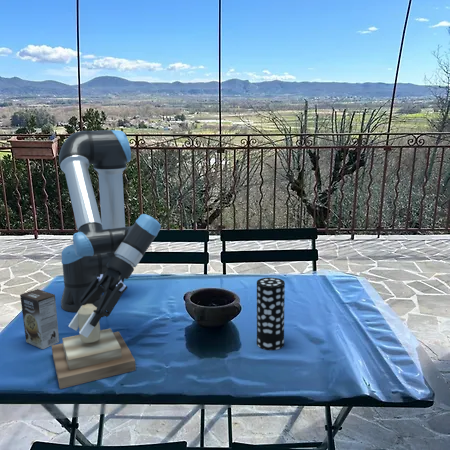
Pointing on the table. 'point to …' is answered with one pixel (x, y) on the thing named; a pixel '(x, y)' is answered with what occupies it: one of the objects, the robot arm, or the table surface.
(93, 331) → the candle
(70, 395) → the table surface
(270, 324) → the white-spotted black cylinder
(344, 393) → the table surface
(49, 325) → the coffee box
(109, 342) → the two-tier square platform
